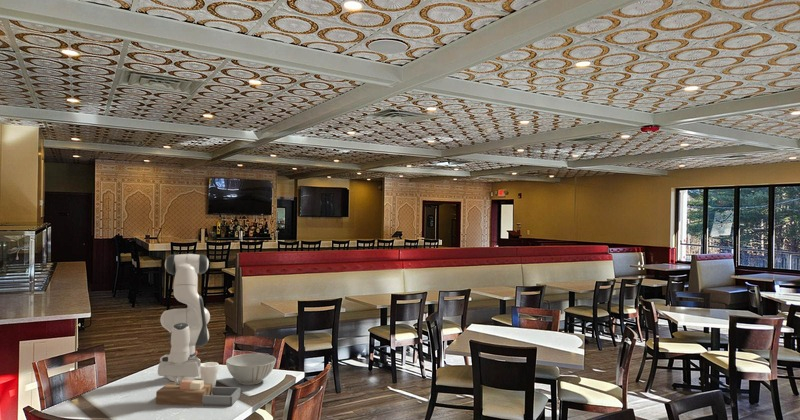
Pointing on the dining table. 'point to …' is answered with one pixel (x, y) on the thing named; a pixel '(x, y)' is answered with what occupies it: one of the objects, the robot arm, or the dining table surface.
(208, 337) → the robot arm
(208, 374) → the foam cup
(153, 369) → the dining table surface
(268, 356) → the decorative bowl
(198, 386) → the cream block
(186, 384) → the salmon orange block
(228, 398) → the box
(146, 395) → the dining table surface
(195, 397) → the walnut platform
